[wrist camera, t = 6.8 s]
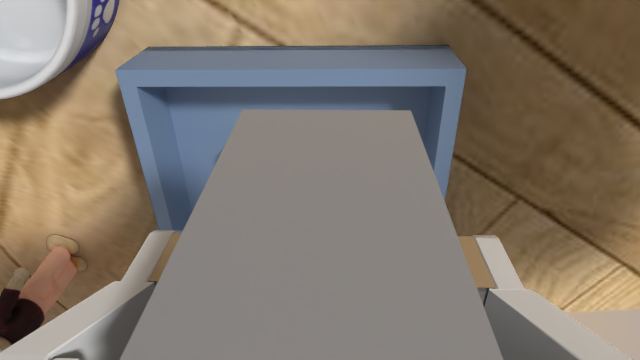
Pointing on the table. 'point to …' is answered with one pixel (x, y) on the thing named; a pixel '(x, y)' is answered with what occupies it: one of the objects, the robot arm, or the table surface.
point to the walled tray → (273, 103)
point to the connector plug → (318, 251)
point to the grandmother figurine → (37, 290)
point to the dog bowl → (47, 39)
